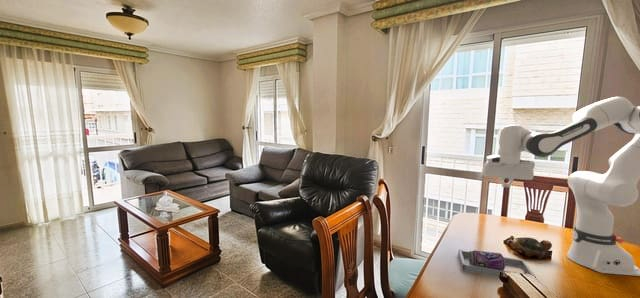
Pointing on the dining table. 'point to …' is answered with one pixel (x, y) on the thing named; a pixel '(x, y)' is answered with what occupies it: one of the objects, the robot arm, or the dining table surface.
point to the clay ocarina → (532, 246)
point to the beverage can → (487, 259)
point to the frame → (490, 270)
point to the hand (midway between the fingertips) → (505, 187)
